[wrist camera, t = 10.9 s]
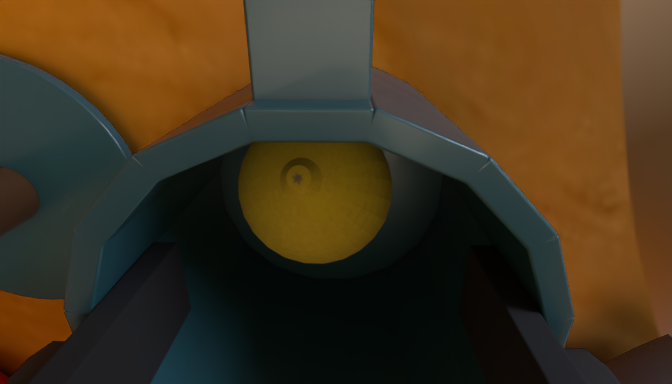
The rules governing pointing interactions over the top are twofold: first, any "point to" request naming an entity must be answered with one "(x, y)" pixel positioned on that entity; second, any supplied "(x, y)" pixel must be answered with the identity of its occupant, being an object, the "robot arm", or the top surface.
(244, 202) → the lemon
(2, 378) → the apple
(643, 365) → the bluetooth speaker
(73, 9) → the top surface
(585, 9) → the top surface
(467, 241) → the pot
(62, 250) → the lid
